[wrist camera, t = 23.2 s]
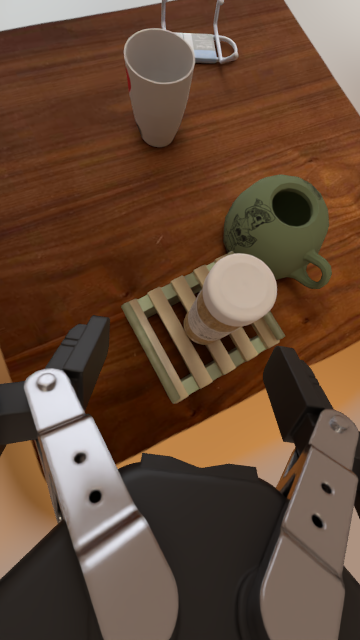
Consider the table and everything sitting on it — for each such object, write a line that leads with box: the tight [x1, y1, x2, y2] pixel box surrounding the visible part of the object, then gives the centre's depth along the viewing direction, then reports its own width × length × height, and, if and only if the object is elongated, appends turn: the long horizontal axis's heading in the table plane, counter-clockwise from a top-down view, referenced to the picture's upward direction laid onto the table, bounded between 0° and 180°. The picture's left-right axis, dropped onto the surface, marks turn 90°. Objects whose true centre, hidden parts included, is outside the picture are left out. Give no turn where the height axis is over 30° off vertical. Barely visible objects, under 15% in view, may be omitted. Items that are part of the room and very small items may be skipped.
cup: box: [124, 28, 195, 147], centre depth 35 cm, size 8×8×10 cm
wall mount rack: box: [162, 0, 239, 64], centre depth 41 cm, size 16×14×6 cm
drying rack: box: [121, 251, 285, 404], centre depth 31 cm, size 14×12×6 cm
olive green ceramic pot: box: [223, 175, 332, 289], centre depth 34 cm, size 16×13×9 cm
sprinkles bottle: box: [184, 253, 277, 345], centre depth 23 cm, size 5×5×14 cm
